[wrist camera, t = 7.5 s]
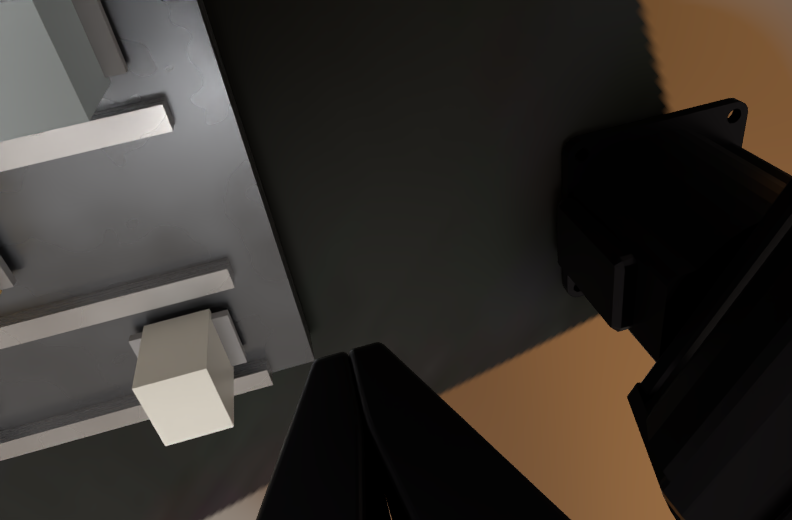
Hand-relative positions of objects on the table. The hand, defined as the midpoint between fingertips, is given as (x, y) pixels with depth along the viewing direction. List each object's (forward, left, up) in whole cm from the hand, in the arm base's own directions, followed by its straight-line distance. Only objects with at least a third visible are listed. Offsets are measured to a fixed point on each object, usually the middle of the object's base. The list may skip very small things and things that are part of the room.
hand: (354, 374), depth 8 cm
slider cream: (+5, +7, -10) cm, 13 cm away
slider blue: (+5, -3, -10) cm, 12 cm away
